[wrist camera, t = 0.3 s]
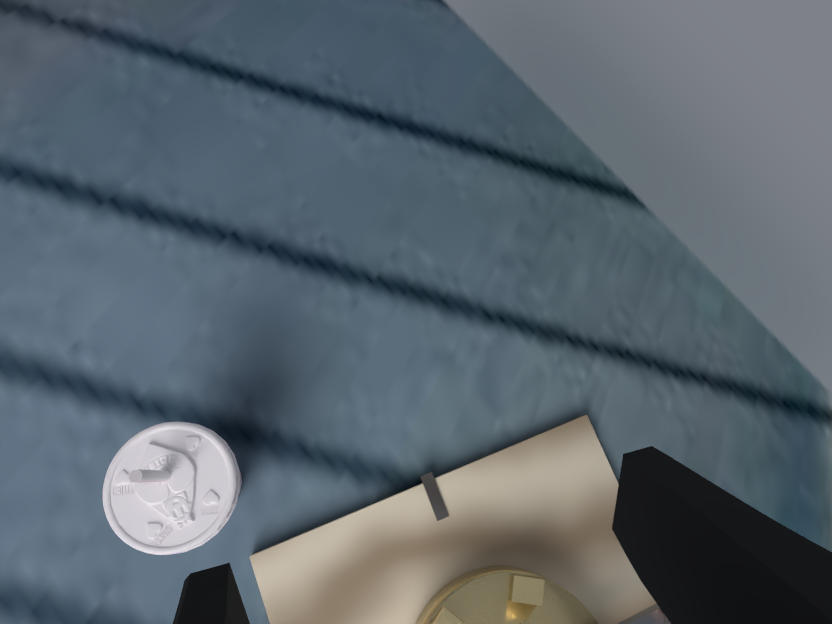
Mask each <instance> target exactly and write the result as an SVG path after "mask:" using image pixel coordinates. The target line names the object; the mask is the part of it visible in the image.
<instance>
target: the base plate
mask: <svg viewBox="0 0 832 624" xmlns="http://www.w3.org/2000/svg"><path fill="white" fill-rule="evenodd" d="M420 477H421V480H422V483H421V484H419V485H416V486H414V487H412V488H409V489H407V490H404V491H402V492H400V493H397V494H395V495H393V496H390V497H388V498H385V499H383V500H381V501H378V502H376V503H374V504H371V505H369V506H366V507H364V508H362V509H359V510H357V511H354V512H352V513H350V514H347V515H345V516H343V517H340V518H338V519H335V520H333V521H331V522H328V523H326V524H324V525H321V526H319V527H316V528H314V529H312V530H309V531H307V532H305V533H302V534H300V535H297V536H295V537H293V538H290V539H288V540H285V541H283V542H281V543H278V544H276V545H274V546H271V547H269V548H266V549H264V550H262V551H259V552H257V553H255V554H252V555H251V556H250V560H251V563H252V567H253V570H254V573H255V576H256V579H257V583H258V586H259V589H260V592H261V596H262V599H263V602H264V605H265V608H266V612H267V615H268V618H269V621H270V624H416V623H417V621H418V618H419V617H420V615H421V613H422V612H423V610H424V609H425V607H426V606H427V604H428V603H429V602H430V601H431V599H432V598H433V597H434V596H435V595H436V594H437V593H438V592H439V591H440V590H441V589H442V588H443V587H444V586H445V585H447V584H448V583H450V582H451V581H452V580H454V579H455V578H457V577H459V576H461V575H463V574H464V573H467V572H470V571H472V570H475V569H479V568H483V567H488V566H500V565H501V566H513V567H518V568H523V569H526V570H529V571H531V572H534V573H536V574H538V575H540V576H542V577H544V578H546V579H548V580H550V581H552V582H554V583H556V584H558V585H560V586H561V587H563V588H564V589H566V590H567V591H569V592H570V593H571V594H573V595H574V596H575V597H576V598H577V599H578V600H579V601H581V602H582V603H583V604H584V605H585V607H586V608H587V609H588V610H589V611H590V613H591V614H592V615H593V616H594V618H595V619H596V621H597V623H598V624H617V623H619V622H621V621H623V620H625V619H627V618H629V617H631V616H633V615H635V614H637V613H639V612H640V611H642V610H644V609H646V608H648V607H650V606H652V605H654V604H656V602H655V600H654V599H653V598H652V596H651V595H650V593H649V592H648V590H647V589H646V588H645V586H644V585H643V583H642V582H641V580H640V579H639V577H638V575H637V573H636V572H635V570H634V568H633V566H632V565H631V563H630V561H629V560H628V558H627V556H626V554H625V552H624V550H623V549H622V547H621V545H620V543H619V541H618V539H617V537H616V536H615V534H614V532H613V530H612V524H613V518H614V512H615V505H616V499H617V492H618V486H619V484H618V482H617V480H616V477H615V475H614V473H613V471H612V469H611V466H610V464H609V462H608V460H607V458H606V455H605V453H604V451H603V449H602V447H601V444H600V442H599V440H598V438H597V436H596V433H595V431H594V429H593V427H592V425H591V422H590V420H589V418H588V416H587V415H584V416H581V417H578V418H576V419H573V420H571V421H569V422H566V423H564V424H561V425H559V426H557V427H554V428H552V429H550V430H547V431H545V432H542V433H540V434H538V435H535V436H533V437H531V438H528V439H526V440H523V441H521V442H519V443H516V444H514V445H512V446H509V447H507V448H504V449H502V450H500V451H497V452H495V453H492V454H490V455H488V456H485V457H483V458H481V459H478V460H476V461H473V462H471V463H469V464H466V465H464V466H462V467H459V468H457V469H454V470H452V471H450V472H447V473H445V474H443V475H440V476H438V477H435V478H434V476H433V474H432V472H429V473H427V474H424V475H422V476H420Z"/></svg>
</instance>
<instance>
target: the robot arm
mask: <svg viewBox="0 0 832 624" xmlns="http://www.w3.org/2000/svg"><path fill="white" fill-rule="evenodd" d="M612 530H613V532H614V534H615V536H616V537H617V539H618V541H619V543H620V545H621V547H622V549H623V550H624V552H625V554H626V556H627V558H628V560H629V561H630V563H631V565H632V566H633V568H634V570H635V572H636V573H637V575H638V577H639V579H640V580H641V582H642V583H643V585H644V586H645V588H646V589H647V590H648V592H649V593H650V595H651V596H652V598H653V599H654V600H655V602H656V603H657V605H658V606H659V607H660V609H661V610H662V612H663V613H664V614H665V616H666V617H667V619H668V620H669V621H670V623H671V624H832V552H830V551H828V550H826V549H825V548H823V547H821V546H819V545H817V544H815V543H813V542H812V541H810V540H808V539H806V538H804V537H803V536H801V535H799V534H797V533H795V532H794V531H792V530H790V529H788V528H787V527H785V526H783V525H781V524H780V523H778V522H776V521H775V520H773V519H771V518H769V517H768V516H766V515H764V514H763V513H761V512H759V511H758V510H756V509H754V508H753V507H751V506H749V505H748V504H746V503H744V502H743V501H741V500H739V499H738V498H736V497H734V496H733V495H731V494H729V493H728V492H726V491H725V490H723V489H721V488H720V487H718V486H716V485H715V484H713V483H712V482H710V481H708V480H707V479H705V478H703V477H702V476H700V475H699V474H697V473H695V472H694V471H692V470H690V469H689V468H687V467H686V466H684V465H682V464H681V463H679V462H678V461H676V460H674V459H673V458H671V457H669V456H668V455H666V454H664V453H663V452H661V451H659V450H658V449H656V448H654V447H652V446H651V447H647V448H643V449H640V450H636V451H633V452H629V453H625V454H623V460H622V466H621V473H620V479H619V486H618V492H617V499H616V505H615V512H614V518H613V524H612ZM173 624H250V623H249V620H248V617H247V614H246V611H245V608H244V605H243V602H242V599H241V596H240V593H239V590H238V587H237V584H236V581H235V578H234V575H233V572H232V569H231V566H230V563H227V564H224V565H220V566H216V567H213V568H209V569H206V570H202V571H198V572H195V573H191V574H190V575H189V576H188V577H187V578H186V579H185V581H184V585H183V589H182V593H181V597H180V601H179V604H178V608H177V611H176V615H175V618H174V621H173Z"/></svg>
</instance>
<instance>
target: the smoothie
mask: <svg viewBox="0 0 832 624" xmlns="http://www.w3.org/2000/svg"><path fill="white" fill-rule="evenodd" d="M241 487H242V477H241V473H240V470H239V467H238V464H237V461H236V458H235V455H234V453H233V452H232V450H231V449H230V447H229V446H228V444H227V443H226V441H225V440H224V439H222V438H221V437H220V436H219V435H218V434H216V433H215V432H214V431H212V430H210V429H208V428H206V427H203V426H201V425H199V424H193V423H186V422H167V423H162V424H158V425H155V426H152V427H149V428H147V429H145V430H143V431H141V432H139V433H138V434H136V435H135V436H133V437H132V438H131V439H130V440H129V441H127V442H126V443H125V444H124V445H123V446H122V448H121V449H120V450H119V451H118V453H117V454H116V455H115V457H114V458H113V460H112V462H111V464H110V466H109V468H108V471H107V473H106V477H105V480H104V486H103V505H104V510H105V514H106V517H107V520H108V522H109V524H110V526H111V527H112V529H113V530H114V532H115V533H116V534H117V535H118V537H120V538H121V539H122V540H123V541H124V542H125V543H126V544H128V545H129V546H131V547H133V548H135V549H137V550H139V551H142V552H145V553H149V554H156V555H168V554H175V553H182V552H186V551H189V550H191V549H194V548H196V547H199V546H201V545H203V544H204V543H205V542H207V541H208V540H209V539H211V538H212V537H214V536H215V535H216V534H217V533H218V532H219V531H220V530H221V528H222V527H223V526H224V525H225V524H226V522H227V521H228V520H229V518H230V516H231V514H232V512H233V510H234V508H235V506H236V504H237V499H238V496H239V494H240V491H241Z"/></svg>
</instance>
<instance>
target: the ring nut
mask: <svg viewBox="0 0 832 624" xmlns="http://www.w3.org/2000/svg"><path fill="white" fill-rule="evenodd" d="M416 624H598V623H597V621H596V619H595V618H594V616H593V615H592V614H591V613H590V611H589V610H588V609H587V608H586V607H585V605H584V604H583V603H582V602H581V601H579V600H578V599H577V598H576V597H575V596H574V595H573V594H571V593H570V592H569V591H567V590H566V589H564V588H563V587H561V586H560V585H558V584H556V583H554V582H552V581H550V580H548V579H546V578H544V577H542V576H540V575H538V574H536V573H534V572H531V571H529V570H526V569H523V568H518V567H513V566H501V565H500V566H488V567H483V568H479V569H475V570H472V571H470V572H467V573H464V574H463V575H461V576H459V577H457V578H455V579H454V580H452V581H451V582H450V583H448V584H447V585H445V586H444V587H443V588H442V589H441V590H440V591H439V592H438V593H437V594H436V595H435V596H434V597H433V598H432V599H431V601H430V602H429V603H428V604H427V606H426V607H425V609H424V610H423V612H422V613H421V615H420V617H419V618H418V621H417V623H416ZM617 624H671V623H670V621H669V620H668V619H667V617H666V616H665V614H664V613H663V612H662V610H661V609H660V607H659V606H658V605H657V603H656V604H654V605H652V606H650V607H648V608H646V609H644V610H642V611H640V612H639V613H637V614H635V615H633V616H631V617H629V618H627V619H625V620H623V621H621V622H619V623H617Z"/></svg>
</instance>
